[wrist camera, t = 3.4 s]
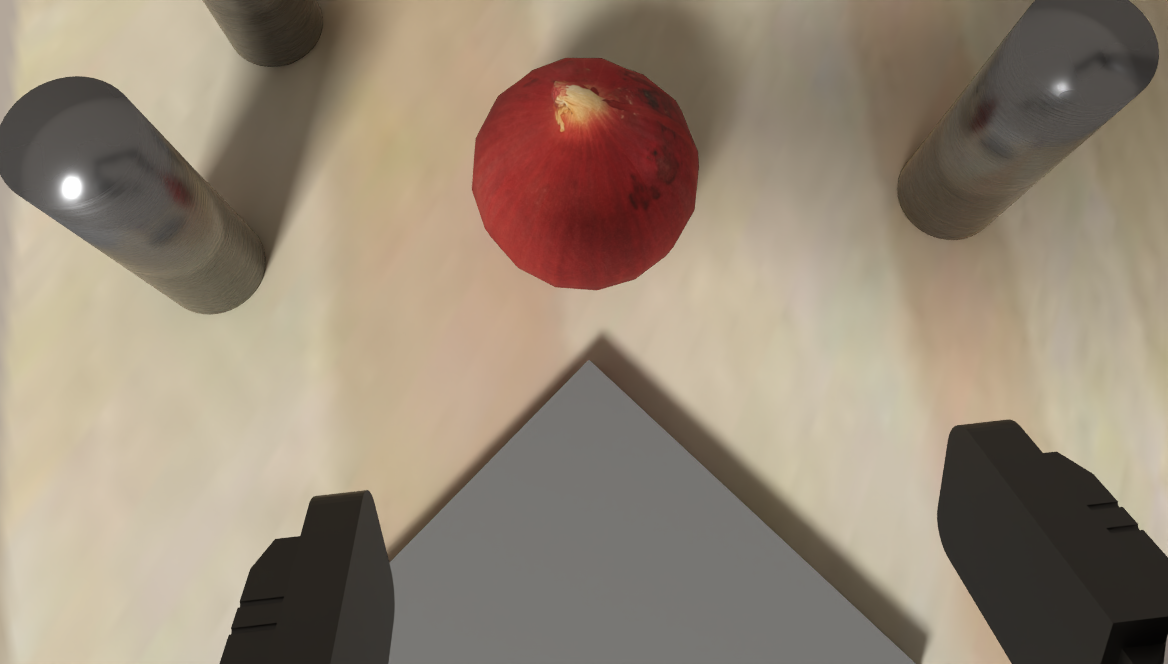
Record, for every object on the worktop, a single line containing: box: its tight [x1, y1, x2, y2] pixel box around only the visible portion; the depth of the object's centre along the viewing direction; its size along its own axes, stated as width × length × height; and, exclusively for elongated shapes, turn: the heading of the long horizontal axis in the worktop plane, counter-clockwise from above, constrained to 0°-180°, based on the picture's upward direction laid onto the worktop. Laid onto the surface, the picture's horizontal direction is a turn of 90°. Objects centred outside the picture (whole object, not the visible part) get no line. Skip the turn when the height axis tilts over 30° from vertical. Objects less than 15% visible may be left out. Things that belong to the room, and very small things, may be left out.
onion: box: [472, 58, 699, 290], centre depth 23 cm, size 6×6×8 cm
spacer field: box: [0, 0, 1159, 314], centre depth 24 cm, size 20×22×8 cm
